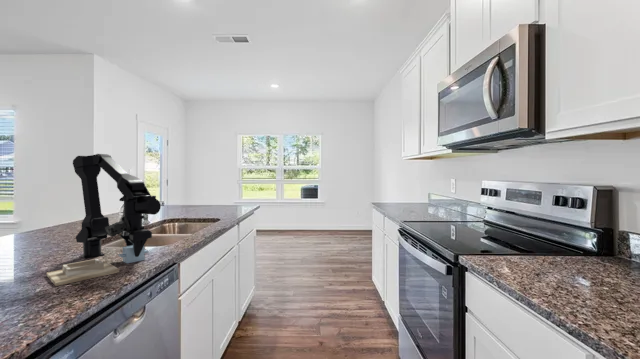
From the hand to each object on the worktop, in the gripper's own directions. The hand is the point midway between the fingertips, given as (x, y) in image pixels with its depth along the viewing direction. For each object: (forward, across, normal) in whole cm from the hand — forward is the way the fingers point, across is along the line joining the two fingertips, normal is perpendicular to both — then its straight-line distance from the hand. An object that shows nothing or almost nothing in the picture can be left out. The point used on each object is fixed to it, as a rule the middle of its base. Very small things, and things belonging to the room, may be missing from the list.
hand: (133, 255), depth 113 cm
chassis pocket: (+2, +4, -16) cm, 17 cm away
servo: (+2, 0, 0) cm, 2 cm away
